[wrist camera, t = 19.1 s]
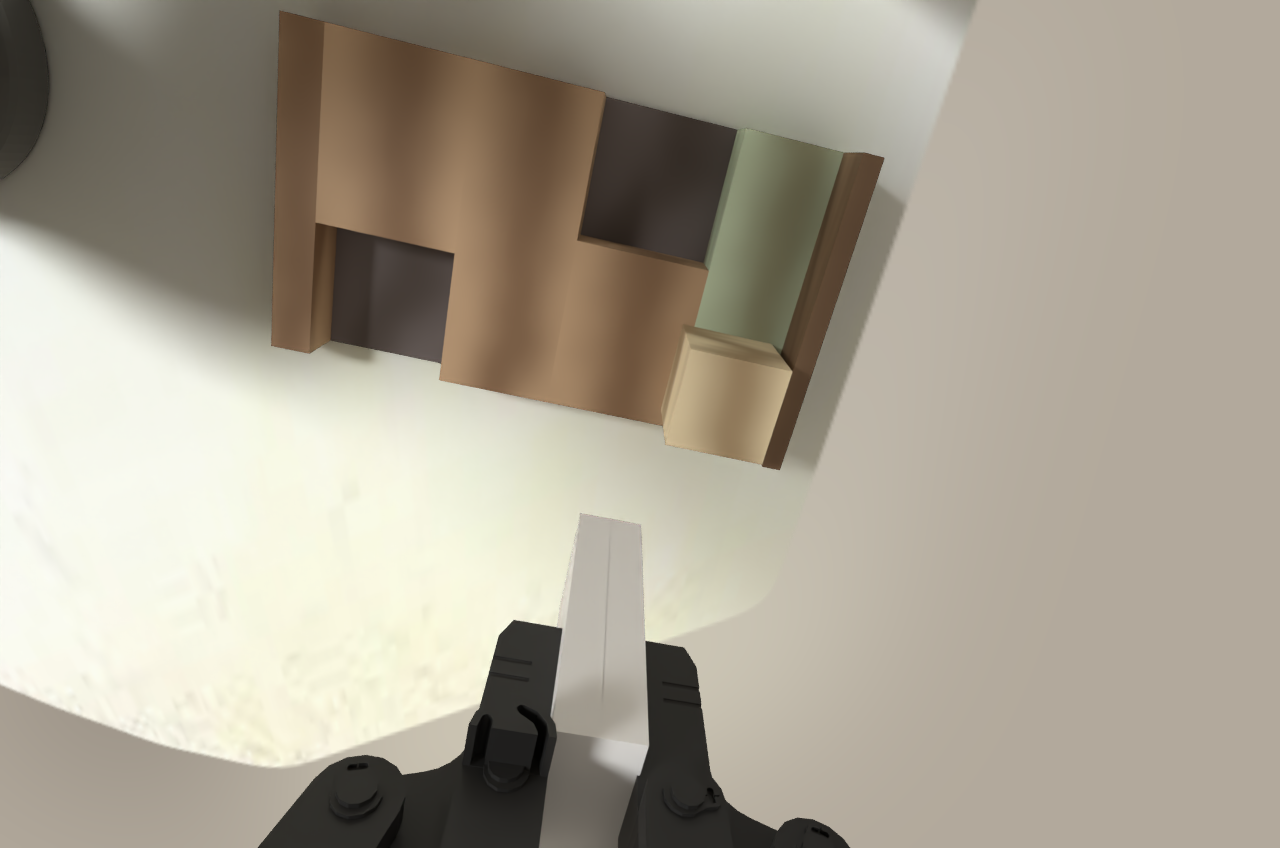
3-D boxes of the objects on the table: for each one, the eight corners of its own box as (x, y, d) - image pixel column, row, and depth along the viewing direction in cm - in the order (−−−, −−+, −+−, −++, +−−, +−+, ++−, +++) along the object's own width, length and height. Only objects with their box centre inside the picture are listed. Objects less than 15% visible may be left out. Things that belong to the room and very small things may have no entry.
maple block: (660, 409, 38) (665, 444, 33) (683, 324, 36) (691, 349, 31) (745, 427, 38) (762, 464, 34) (771, 344, 37) (792, 371, 32)
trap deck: (296, 332, 39) (241, 361, 33) (308, 22, 33) (244, -4, 28) (759, 427, 42) (779, 470, 36) (844, 157, 36) (884, 157, 30)
